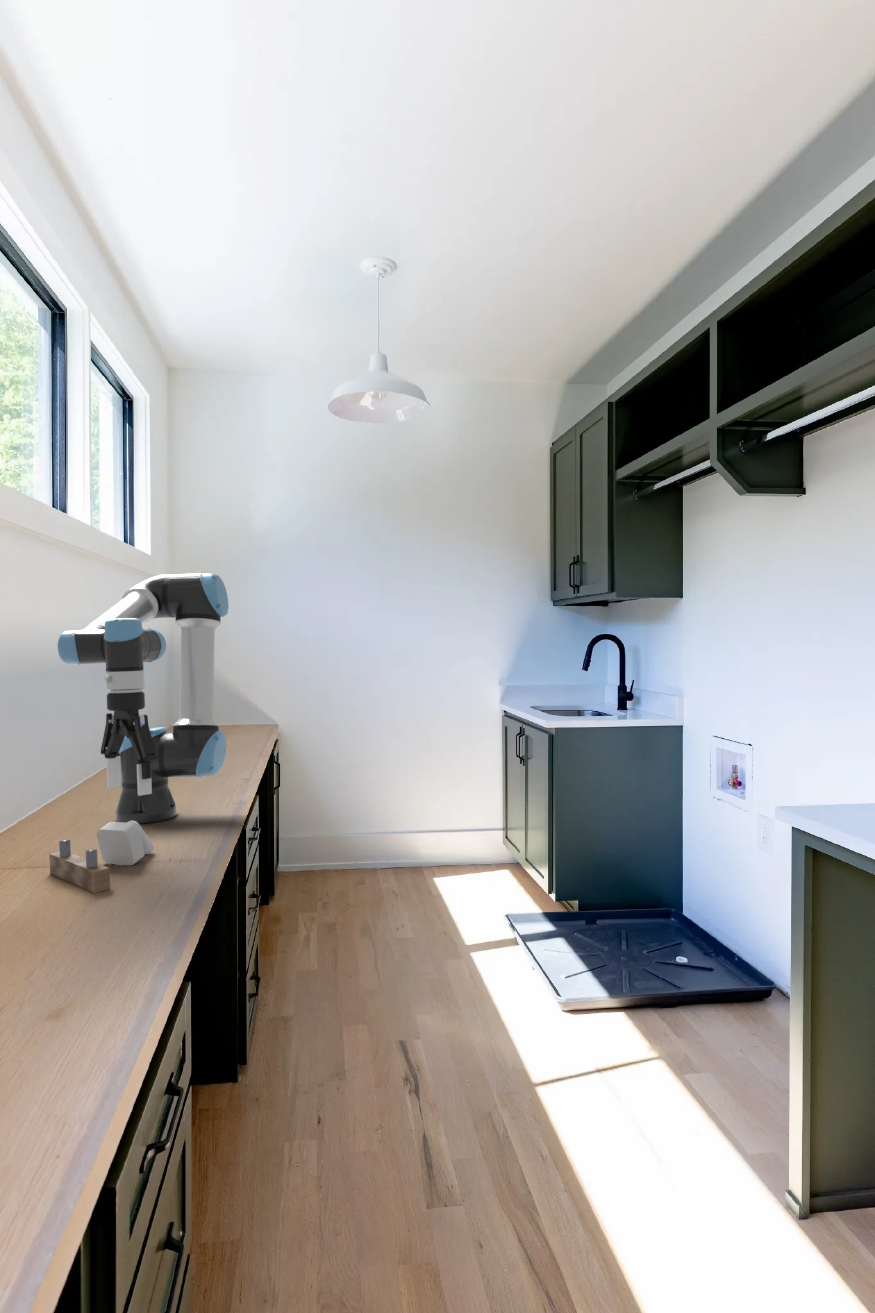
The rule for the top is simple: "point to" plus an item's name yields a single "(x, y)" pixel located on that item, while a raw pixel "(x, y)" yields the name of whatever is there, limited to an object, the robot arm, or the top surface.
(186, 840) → the top surface
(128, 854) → the white knobbed block
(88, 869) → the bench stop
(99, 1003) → the top surface
